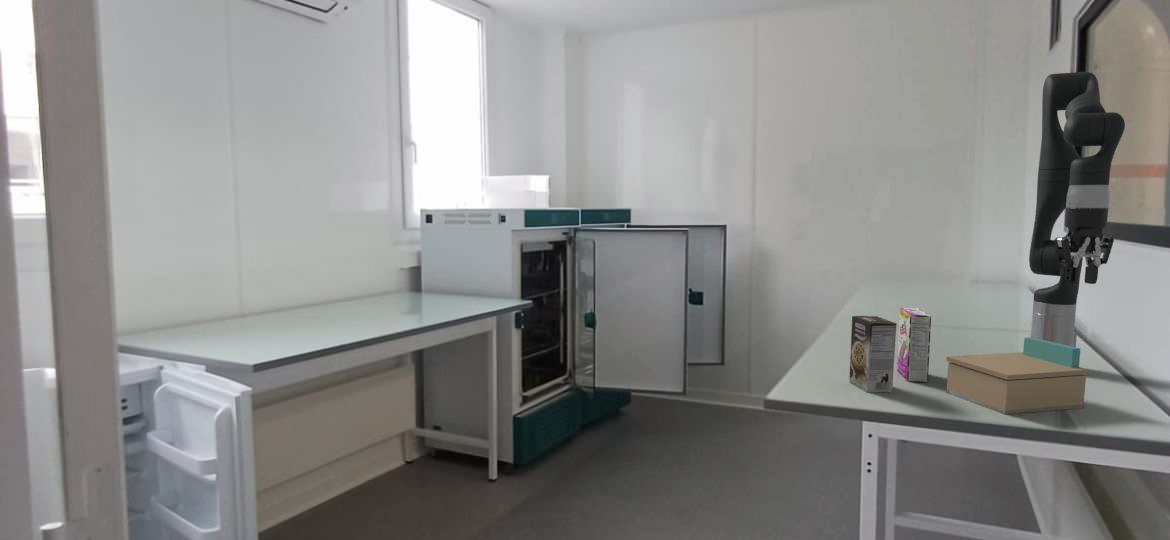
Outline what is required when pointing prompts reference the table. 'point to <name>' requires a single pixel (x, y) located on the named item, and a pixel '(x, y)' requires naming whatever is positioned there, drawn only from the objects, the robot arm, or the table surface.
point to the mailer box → (1016, 391)
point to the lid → (1027, 361)
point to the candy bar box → (913, 344)
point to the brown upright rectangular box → (872, 353)
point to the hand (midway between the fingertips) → (1080, 283)
